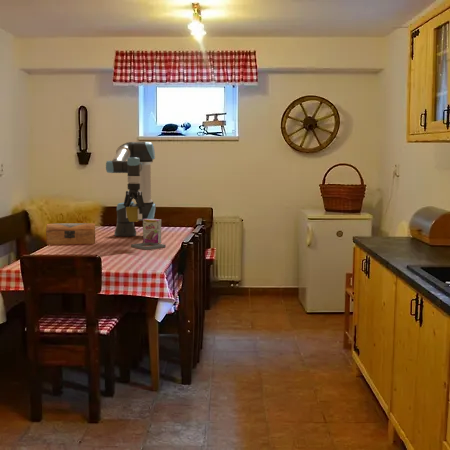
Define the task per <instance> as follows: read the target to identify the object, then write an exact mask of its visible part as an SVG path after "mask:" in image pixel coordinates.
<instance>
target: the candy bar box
mask: <svg viewBox="0 0 450 450" xmlns="http://www.w3.org/2000/svg"><path fill="white" fill-rule="evenodd" d="M149 242H152V243H159V244H162V219H157V218H154V219H143V220H142V243H149Z"/></svg>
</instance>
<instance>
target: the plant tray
mask: <svg viewBox="0 0 450 450" xmlns="http://www.w3.org/2000/svg"><path fill="white" fill-rule="evenodd" d="M166 245H167V244H165V243H164V244H163V243H159V244H158V243H152V242H149V243H143V242H142V243H141V242H140V243H139V242H138V243H134V244H133V243H131V244H130V247H131V248H135V249H139V250H144V251H148V250H156V249H163V248H166V247H167V246H166Z"/></svg>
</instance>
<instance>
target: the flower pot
mask: <svg viewBox="0 0 450 450" xmlns="http://www.w3.org/2000/svg"><path fill="white" fill-rule="evenodd" d="M126 213H127V218H128V220H129V222H134V223H135V222H136V223H137V222H139V221H140V220H139V219H138V207H126Z"/></svg>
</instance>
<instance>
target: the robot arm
mask: <svg viewBox="0 0 450 450" xmlns="http://www.w3.org/2000/svg"><path fill="white" fill-rule="evenodd" d="M114 155H115V156H114V157H113V159H112V160H106V162H105V170H106V172H107V173H109V174H110V173H111V174H127V176H126V177H127V190H126V191H125V196H124V201H123V202H119V203H117V205H116V226H115V229H114V236H116V237H135V236H137V231H136V227H135V222H129V220H128V218H127V213H126V207H138V219H139V221H143V219H155V213H156V203H154V200H153V199H152V182H151V181H152V179H151V178H152V177H151V174H152V172H151V170H152V169H151V166H152V165H151V164H152V163H153V162H154V160H155V159H156V154H155V146H154V144H153V143H152V142H150V141H128V142H125V143H123V144H121V145H120V146H119V147H117V149H116V152H115V154H114ZM133 200H134V201H135V202H134V201H133Z"/></svg>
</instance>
